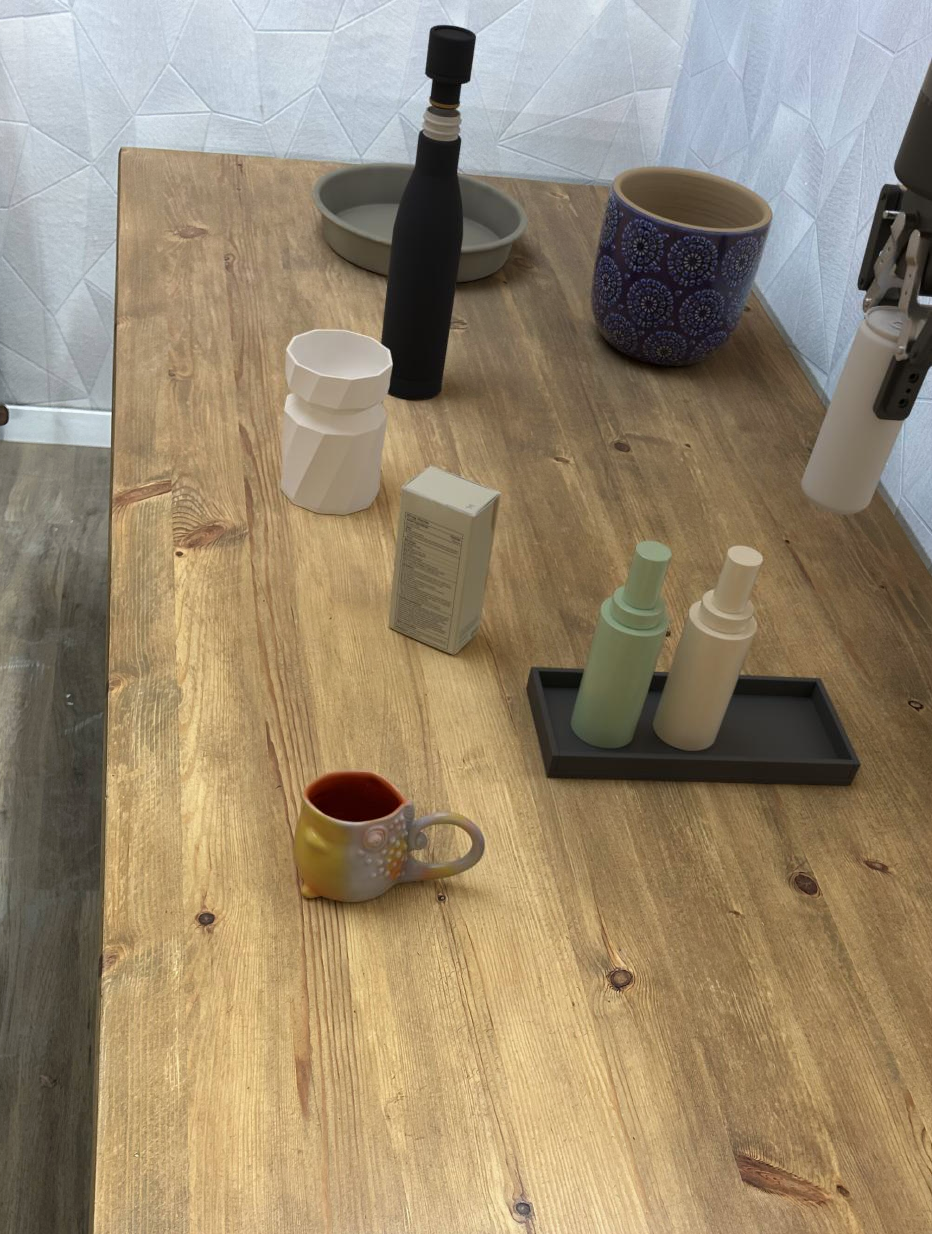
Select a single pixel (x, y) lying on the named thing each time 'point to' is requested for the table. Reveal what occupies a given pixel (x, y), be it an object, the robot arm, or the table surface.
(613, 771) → the tray
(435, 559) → the cosmetic box
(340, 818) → the mug
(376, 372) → the vase
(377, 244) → the cake pan
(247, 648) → the table surface
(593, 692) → the sage bottle
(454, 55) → the black bottle
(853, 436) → the beverage can
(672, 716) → the cream bottle
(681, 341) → the planter
